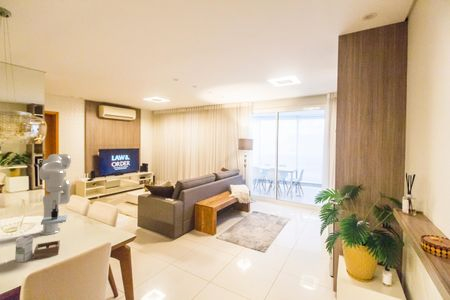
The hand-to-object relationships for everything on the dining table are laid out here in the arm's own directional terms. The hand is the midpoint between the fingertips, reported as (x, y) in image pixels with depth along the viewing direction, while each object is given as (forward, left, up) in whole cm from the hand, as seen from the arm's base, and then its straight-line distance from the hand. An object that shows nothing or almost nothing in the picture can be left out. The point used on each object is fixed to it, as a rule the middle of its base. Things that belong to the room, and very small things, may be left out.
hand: (54, 215), depth 140 cm
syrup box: (+2, -14, -25) cm, 29 cm away
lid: (0, 0, -3) cm, 3 cm away
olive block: (0, -6, -25) cm, 25 cm away
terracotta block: (0, 0, -25) cm, 25 cm away
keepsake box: (0, -3, -25) cm, 25 cm away
